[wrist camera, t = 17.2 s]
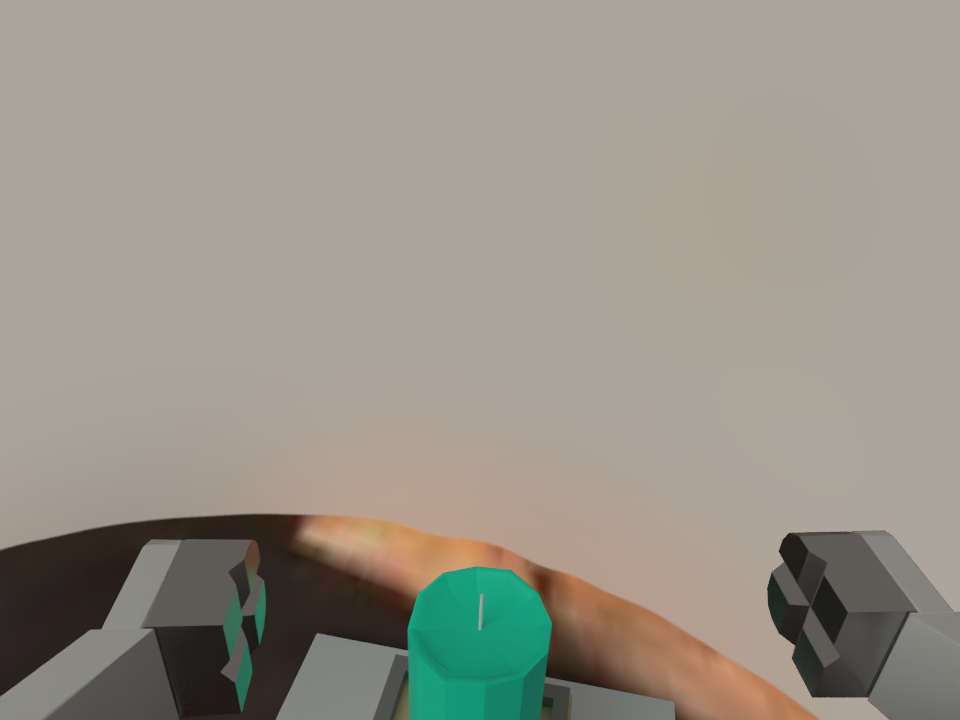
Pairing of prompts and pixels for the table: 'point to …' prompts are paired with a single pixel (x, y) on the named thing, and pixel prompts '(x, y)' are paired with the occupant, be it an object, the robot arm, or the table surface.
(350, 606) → the table surface
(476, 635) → the candle
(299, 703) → the board
